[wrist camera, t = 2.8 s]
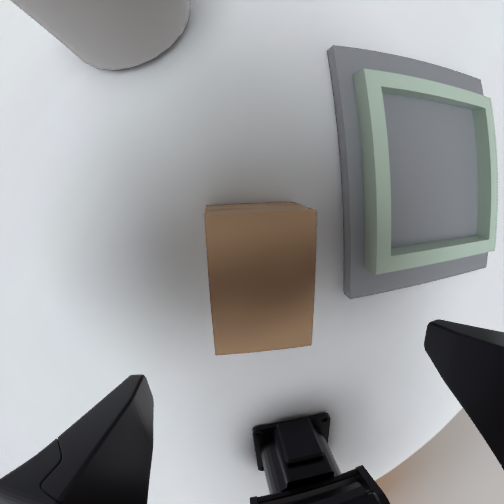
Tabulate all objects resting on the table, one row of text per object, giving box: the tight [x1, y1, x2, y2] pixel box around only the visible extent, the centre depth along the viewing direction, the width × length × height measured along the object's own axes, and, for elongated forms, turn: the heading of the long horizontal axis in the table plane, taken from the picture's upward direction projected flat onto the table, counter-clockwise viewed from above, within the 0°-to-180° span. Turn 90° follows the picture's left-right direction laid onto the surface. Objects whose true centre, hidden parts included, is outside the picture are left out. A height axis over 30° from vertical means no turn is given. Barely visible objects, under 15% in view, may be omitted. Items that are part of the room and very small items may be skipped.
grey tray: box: [327, 45, 498, 299], centre depth 17 cm, size 16×14×2 cm
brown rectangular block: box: [205, 202, 317, 355], centre depth 16 cm, size 7×5×4 cm
